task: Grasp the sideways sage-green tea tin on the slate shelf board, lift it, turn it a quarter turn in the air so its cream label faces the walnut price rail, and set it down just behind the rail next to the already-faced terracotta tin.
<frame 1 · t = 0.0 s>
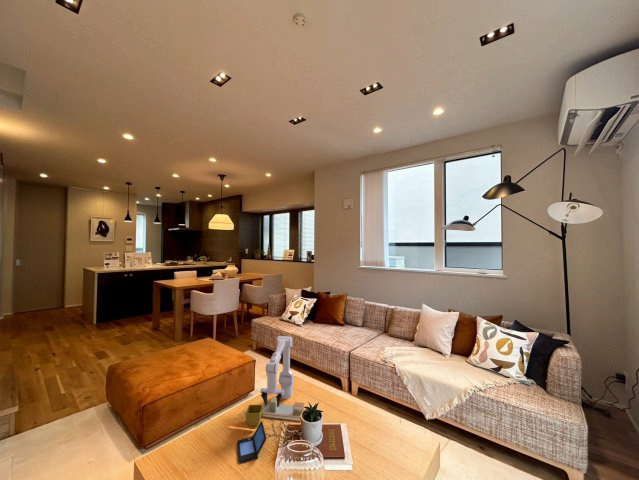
hand: (272, 405, 159), 10 cm above the table, fingers open, 7 cm apart
handheld game console: (251, 450, 137), on the table
terracotta tin: (298, 414, 165), point 1 cm above the table, touching shelf
flower pot: (254, 424, 157), on the table
shelf: (285, 413, 168), on the table
sage tin: (274, 408, 171), point 1 cm above the table, touching shelf
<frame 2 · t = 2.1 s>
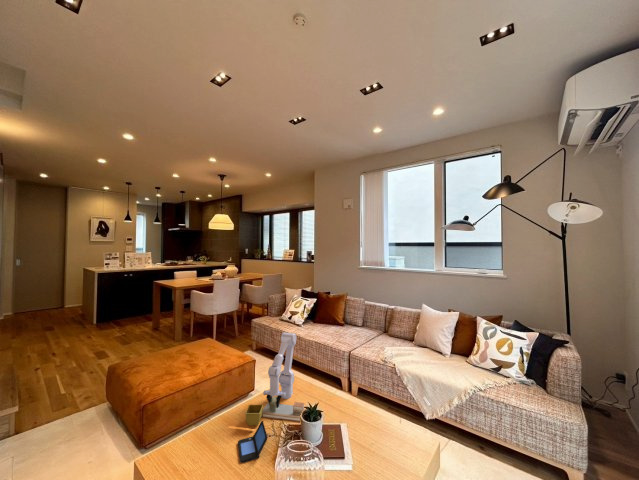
hand: (274, 406, 171), 2 cm above the table, fingers closed on sage tin, 4 cm apart
sage tin: (274, 408, 171), point 1 cm above the table, touching gripper, shelf
everything else where it was.
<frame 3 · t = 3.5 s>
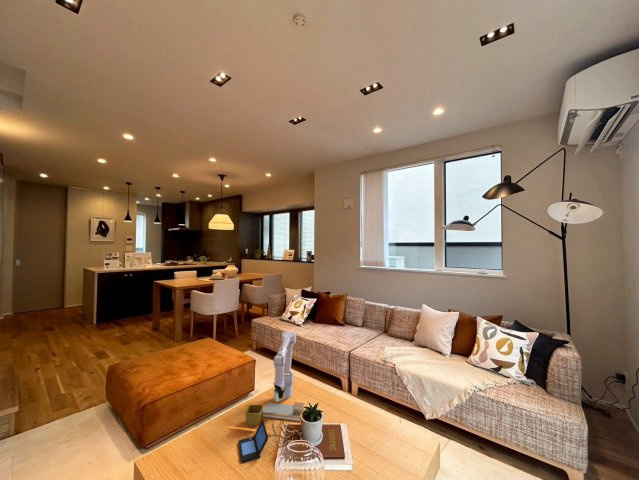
hand: (279, 396, 169), 10 cm above the table, fingers closed on sage tin, 4 cm apart
sage tin: (279, 399, 169), point 8 cm above the table, touching gripper
everything else where it was.
when the fingers open (4 cm above the table, at t = 5.4 s): sage tin stays where it is, resting on shelf.
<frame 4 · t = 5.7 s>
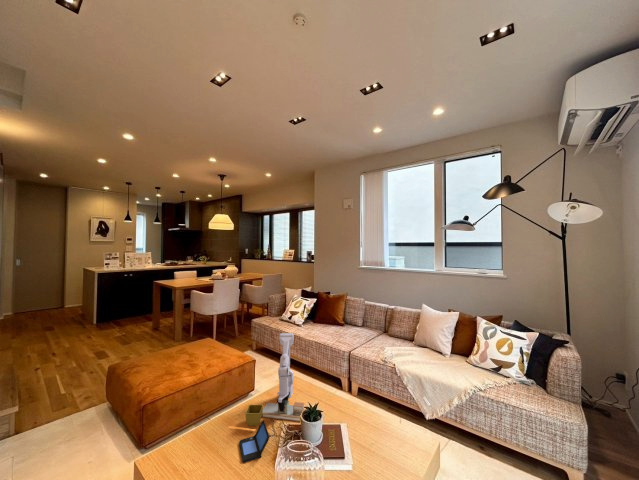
hand: (283, 407, 168), 4 cm above the table, fingers open, 6 cm apart
sage tin: (283, 411, 168), point 1 cm above the table, touching shelf
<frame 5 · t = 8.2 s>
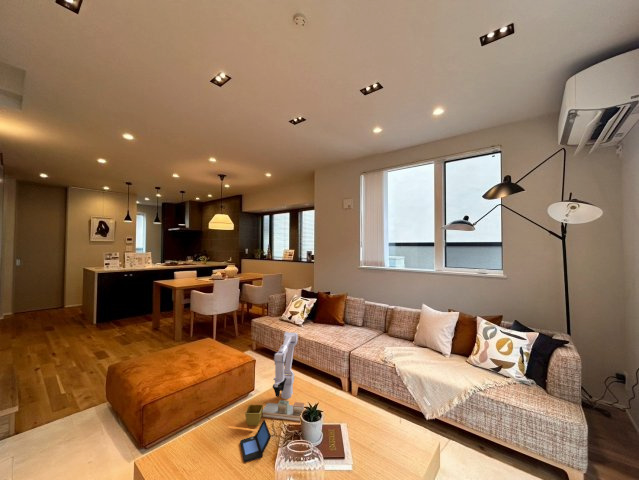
hand: (279, 393, 172), 10 cm above the table, fingers open, 7 cm apart
at the end: sage tin 0.1 cm from the target spot, point 1.0 cm above the table; sage tin tilted 0°; sage tin moved 7.1 cm from its start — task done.
